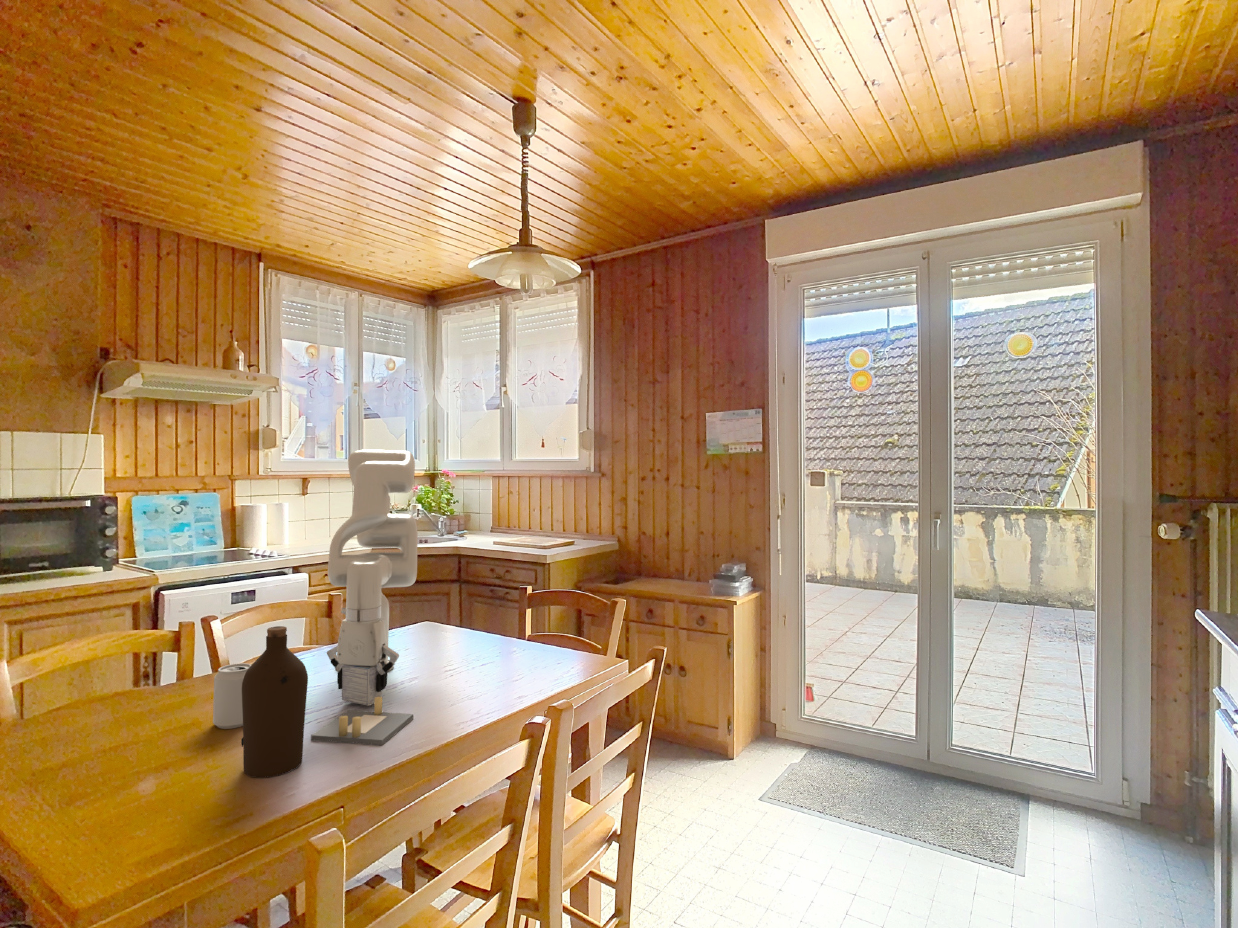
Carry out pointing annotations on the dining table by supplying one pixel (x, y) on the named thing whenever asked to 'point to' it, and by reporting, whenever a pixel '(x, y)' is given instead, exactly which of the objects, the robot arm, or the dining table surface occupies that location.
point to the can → (229, 696)
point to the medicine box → (359, 684)
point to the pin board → (363, 726)
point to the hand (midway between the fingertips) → (362, 688)
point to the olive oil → (274, 709)
